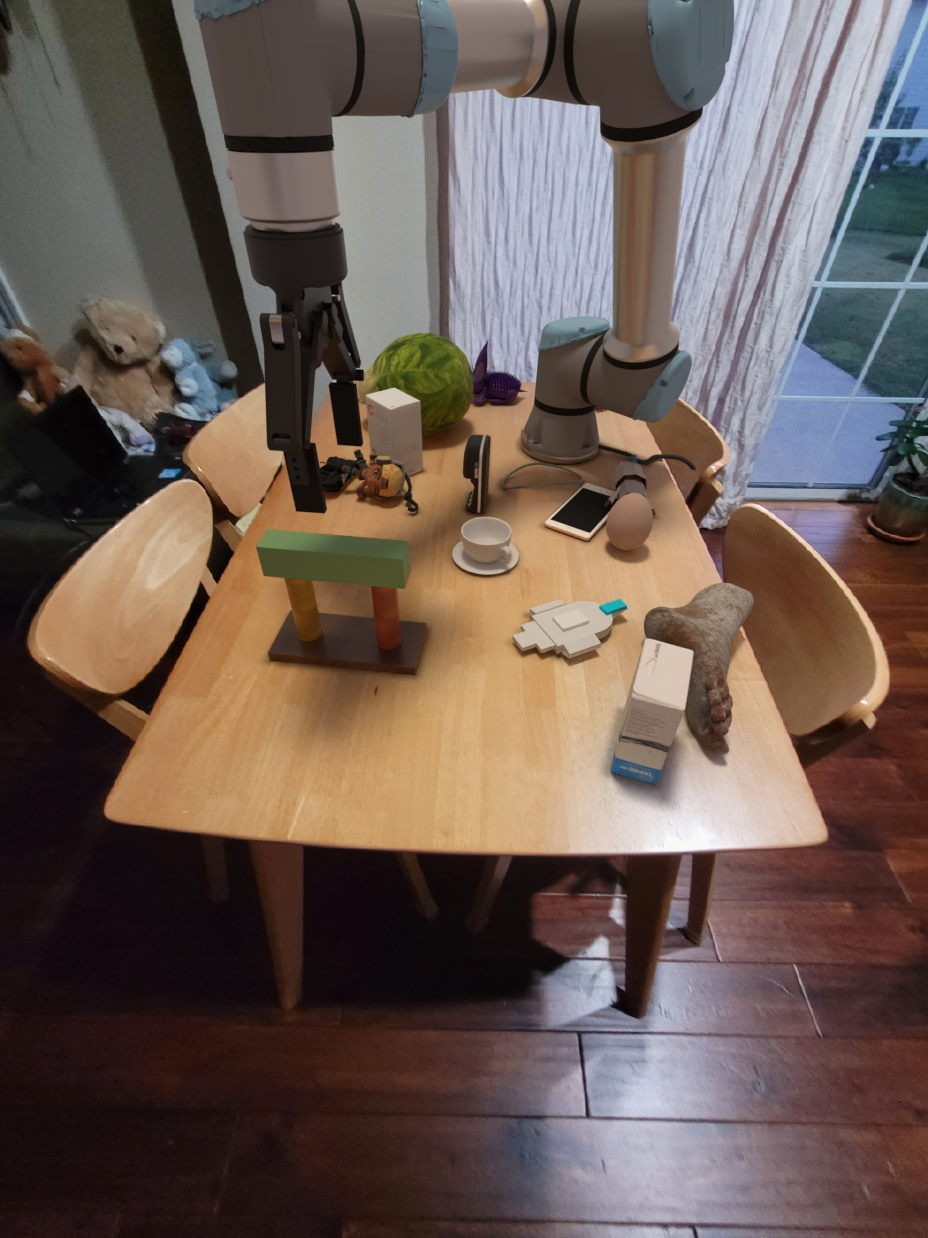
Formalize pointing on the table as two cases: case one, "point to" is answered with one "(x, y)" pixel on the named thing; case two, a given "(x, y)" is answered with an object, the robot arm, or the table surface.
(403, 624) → the rods
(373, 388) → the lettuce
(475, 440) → the battery charger
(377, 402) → the small box
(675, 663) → the ink box
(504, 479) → the loop
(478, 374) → the creature
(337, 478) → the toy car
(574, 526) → the cell phone
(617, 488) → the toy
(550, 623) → the toy rocket
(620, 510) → the egg
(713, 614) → the sculpture
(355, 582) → the bar
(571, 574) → the table surface
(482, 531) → the teacup
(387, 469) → the toy
